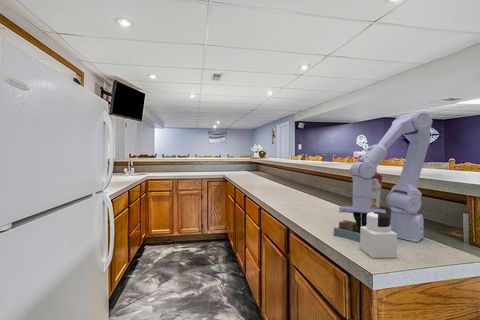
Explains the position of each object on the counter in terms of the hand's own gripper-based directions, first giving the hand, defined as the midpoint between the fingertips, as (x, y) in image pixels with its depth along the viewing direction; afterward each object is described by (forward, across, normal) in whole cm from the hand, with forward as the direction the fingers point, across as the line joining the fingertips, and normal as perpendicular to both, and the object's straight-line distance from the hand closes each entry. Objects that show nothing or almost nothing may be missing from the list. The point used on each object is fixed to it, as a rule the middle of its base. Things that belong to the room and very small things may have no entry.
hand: (361, 234), depth 87 cm
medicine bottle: (+2, -4, +13) cm, 14 cm away
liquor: (+1, -7, -38) cm, 38 cm away
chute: (+1, +3, -1) cm, 3 cm away
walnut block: (+1, +4, -2) cm, 5 cm away
